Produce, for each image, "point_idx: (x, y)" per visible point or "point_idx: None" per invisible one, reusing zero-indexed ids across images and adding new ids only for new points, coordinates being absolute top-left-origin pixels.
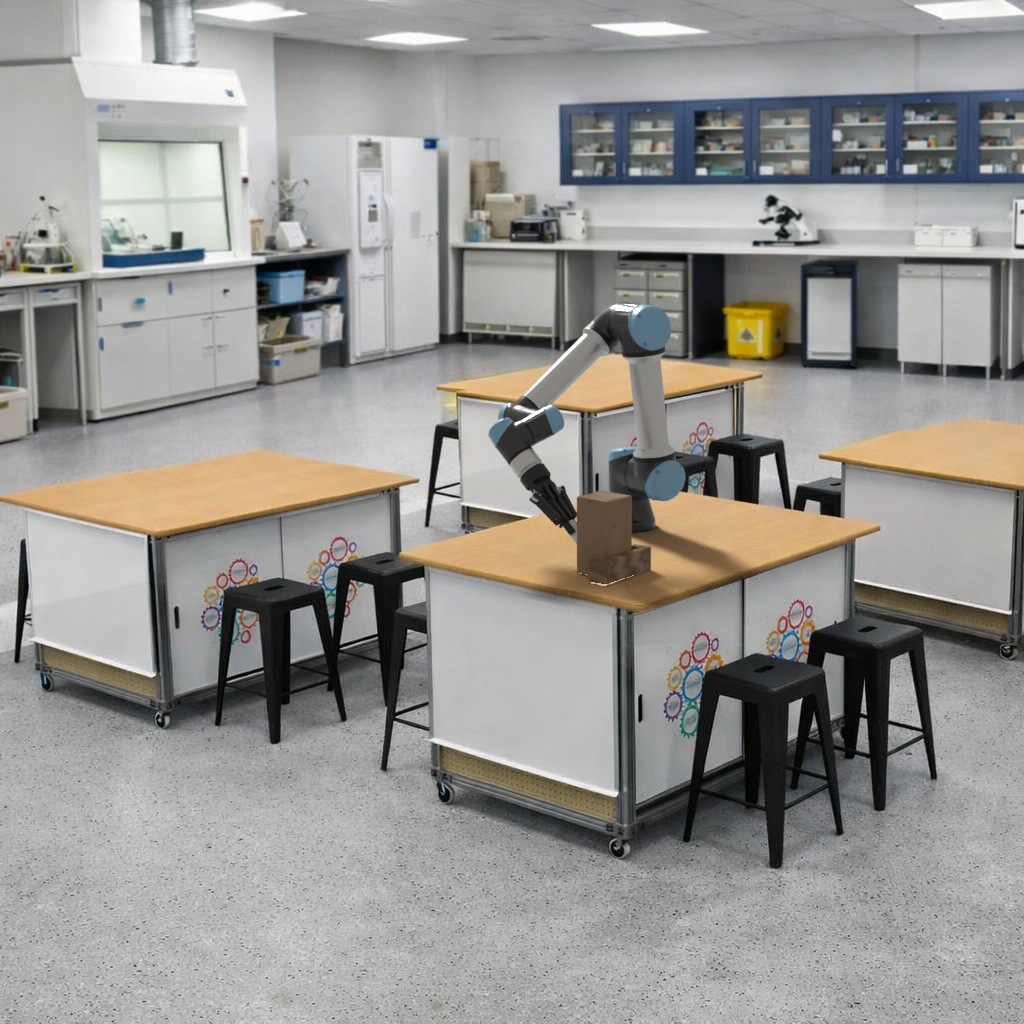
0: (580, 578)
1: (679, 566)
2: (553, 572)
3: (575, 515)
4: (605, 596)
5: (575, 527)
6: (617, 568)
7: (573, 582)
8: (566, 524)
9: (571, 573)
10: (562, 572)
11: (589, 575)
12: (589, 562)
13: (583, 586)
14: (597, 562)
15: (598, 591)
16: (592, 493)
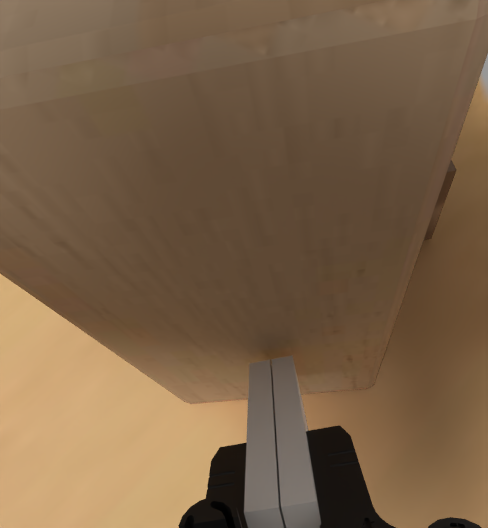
0: (408, 320)
1: None
2: (458, 511)
3: (197, 518)
4: (483, 99)
5: (301, 430)
6: None
7: (479, 291)
8: (371, 507)
9: (385, 418)
10: (413, 470)
11: (437, 215)
12: (451, 176)
13: (477, 223)
14: None
15: (467, 148)
16: (92, 12)
